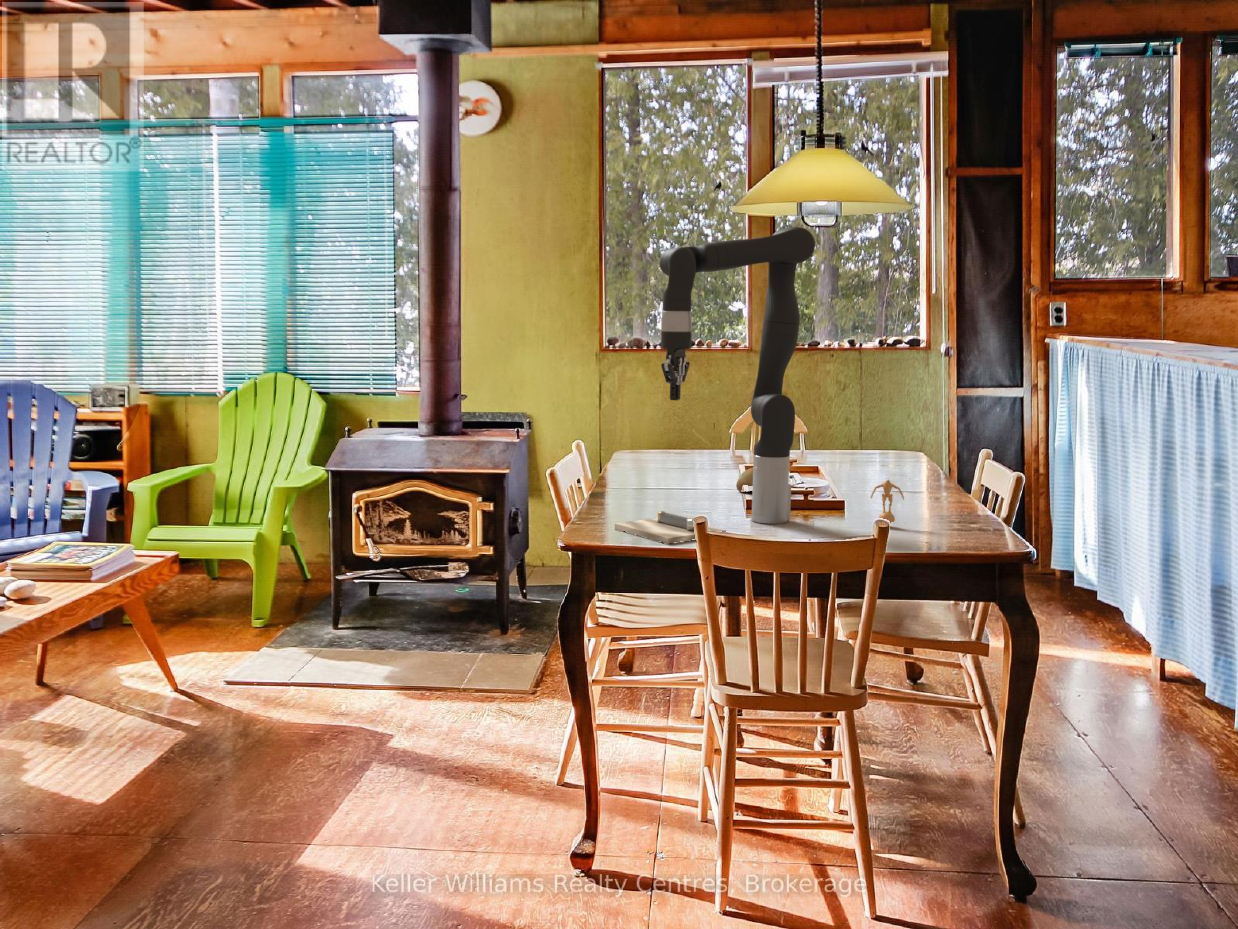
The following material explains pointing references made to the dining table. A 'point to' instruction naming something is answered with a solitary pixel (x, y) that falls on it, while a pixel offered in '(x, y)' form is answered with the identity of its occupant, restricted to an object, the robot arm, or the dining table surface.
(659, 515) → the leg
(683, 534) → the hole board
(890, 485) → the figurine
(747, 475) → the bread roll
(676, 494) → the dining table surface
